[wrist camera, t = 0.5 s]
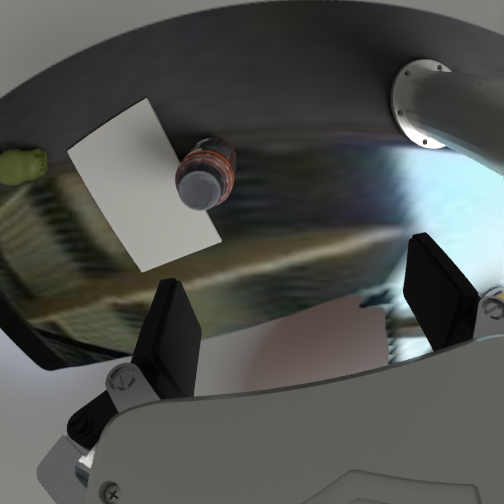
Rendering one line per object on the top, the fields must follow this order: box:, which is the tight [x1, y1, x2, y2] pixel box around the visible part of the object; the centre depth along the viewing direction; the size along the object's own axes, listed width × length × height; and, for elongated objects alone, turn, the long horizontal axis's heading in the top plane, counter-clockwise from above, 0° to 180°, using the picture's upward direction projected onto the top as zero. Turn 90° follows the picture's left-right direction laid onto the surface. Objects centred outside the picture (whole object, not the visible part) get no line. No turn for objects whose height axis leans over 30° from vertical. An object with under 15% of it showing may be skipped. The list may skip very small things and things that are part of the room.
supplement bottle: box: [175, 137, 237, 211], centre depth 31 cm, size 6×6×11 cm
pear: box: [0, 148, 48, 186], centre depth 33 cm, size 6×5×10 cm
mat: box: [67, 98, 222, 272], centre depth 38 cm, size 14×22×1 cm, turn 23°
